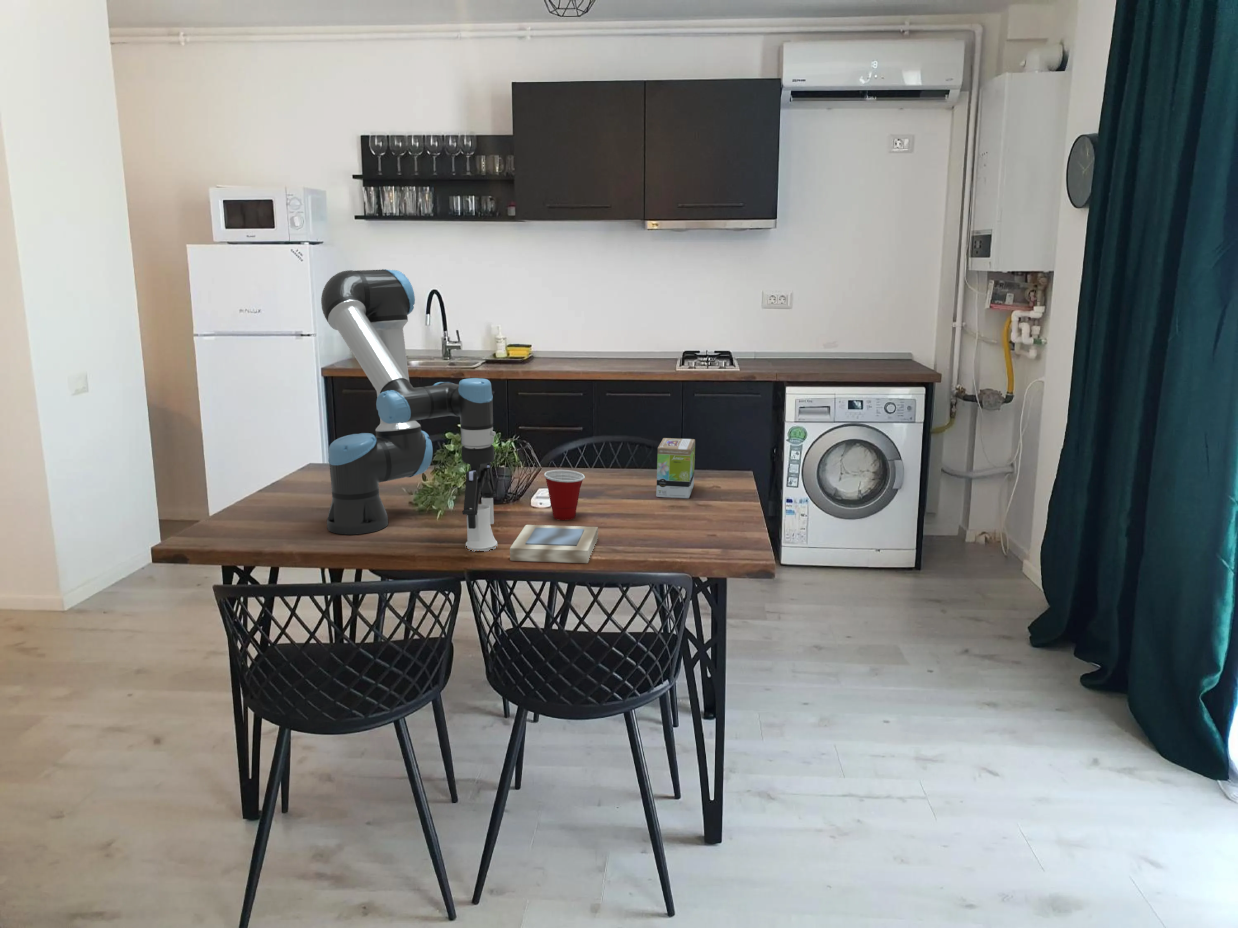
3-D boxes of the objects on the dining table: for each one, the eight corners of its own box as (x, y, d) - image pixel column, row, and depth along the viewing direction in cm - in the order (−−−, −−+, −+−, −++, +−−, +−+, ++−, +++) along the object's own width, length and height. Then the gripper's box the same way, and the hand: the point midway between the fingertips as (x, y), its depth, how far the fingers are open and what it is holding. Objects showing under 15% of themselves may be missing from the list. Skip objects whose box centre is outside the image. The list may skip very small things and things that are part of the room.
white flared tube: (503, 546, 218) (502, 506, 216) (479, 554, 213) (477, 513, 211) (483, 539, 223) (482, 500, 221) (459, 547, 218) (457, 507, 216)
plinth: (510, 560, 208) (509, 546, 208) (526, 536, 226) (525, 523, 225) (587, 563, 207) (587, 549, 206) (598, 538, 224) (597, 525, 223)
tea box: (690, 499, 259) (691, 448, 255) (655, 497, 260) (655, 447, 257) (694, 485, 273) (695, 437, 270) (661, 484, 275) (661, 436, 271)
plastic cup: (580, 524, 235) (579, 479, 233) (539, 522, 237) (538, 477, 235) (589, 512, 246) (589, 469, 243) (551, 510, 248) (550, 467, 245)
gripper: (479, 457, 200) (483, 549, 205) (505, 434, 224) (508, 517, 229) (446, 456, 201) (451, 548, 206) (475, 434, 225) (479, 516, 230)
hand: (481, 531), depth 217 cm, fingers open, 13 cm apart
